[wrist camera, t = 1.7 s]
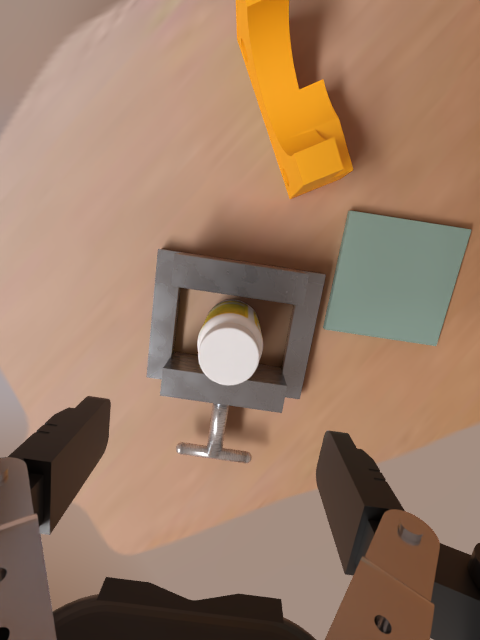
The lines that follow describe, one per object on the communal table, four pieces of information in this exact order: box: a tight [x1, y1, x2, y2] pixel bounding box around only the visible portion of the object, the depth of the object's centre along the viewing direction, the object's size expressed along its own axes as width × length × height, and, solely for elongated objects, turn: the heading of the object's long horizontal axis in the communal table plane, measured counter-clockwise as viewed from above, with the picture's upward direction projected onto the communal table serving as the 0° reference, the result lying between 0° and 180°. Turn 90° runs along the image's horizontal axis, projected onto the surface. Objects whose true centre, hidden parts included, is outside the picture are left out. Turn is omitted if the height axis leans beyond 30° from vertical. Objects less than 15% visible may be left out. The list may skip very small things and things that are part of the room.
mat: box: [323, 211, 471, 346], centre depth 27 cm, size 10×10×1 cm
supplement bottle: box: [197, 300, 263, 385], centre depth 25 cm, size 5×5×8 cm
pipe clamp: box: [236, 0, 353, 199], centre depth 22 cm, size 12×4×6 cm, turn 21°
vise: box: [147, 249, 326, 463], centre depth 27 cm, size 14×18×4 cm
